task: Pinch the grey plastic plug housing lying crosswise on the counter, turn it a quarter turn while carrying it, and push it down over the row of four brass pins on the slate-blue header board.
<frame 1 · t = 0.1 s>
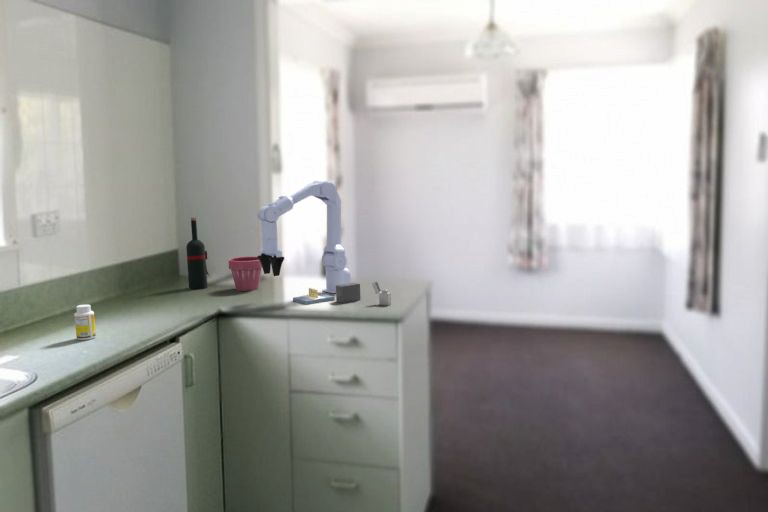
hand: (271, 274, 264), 10 cm above the countertop, tool pointing down, fingers open, 7 cm apart
plug housing: (348, 300, 261), on the countertop
supplement bottle: (86, 339, 216), on the countertop
wine bottle: (200, 287, 302), on the countertop
lighter: (381, 304, 253), on the countertop
header board: (313, 300, 264), on the countertop
plant pot: (247, 289, 294), on the countertop
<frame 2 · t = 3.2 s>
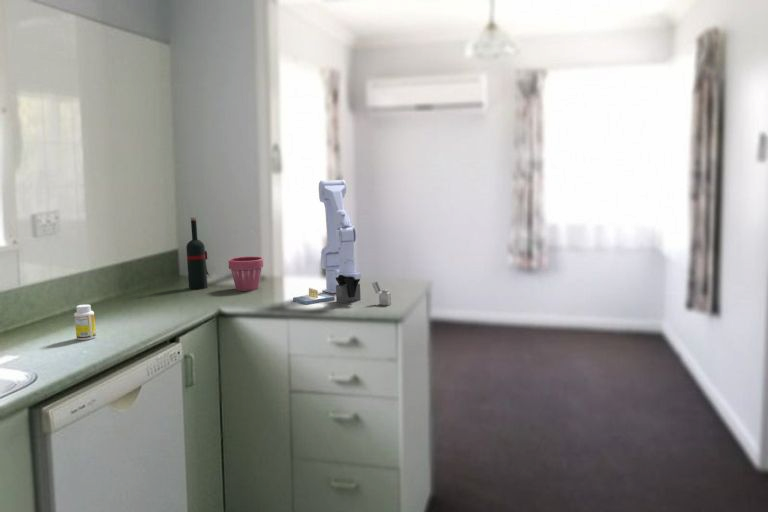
hand: (348, 296, 261), 2 cm above the countertop, tool pointing down, fingers closed on plug housing, 4 cm apart
plug housing: (348, 300, 261), on the countertop, touching gripper
everything else where it was.
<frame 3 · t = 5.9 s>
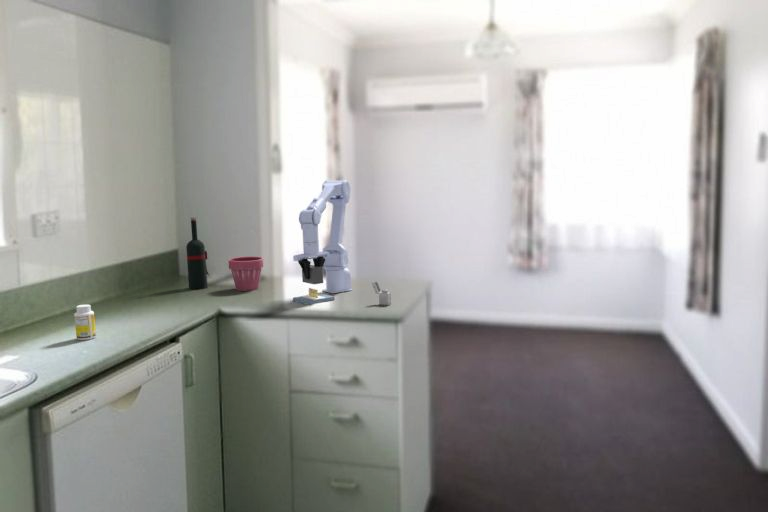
hand: (312, 278, 263), 8 cm above the countertop, tool pointing down, fingers closed on plug housing, 4 cm apart
plug housing: (312, 282, 263), point 7 cm above the countertop, touching gripper
everything else where it was.
when the fingers open (3 cm above the countertop, at t = 8.6 s): plug housing stays where it is, resting on header board.
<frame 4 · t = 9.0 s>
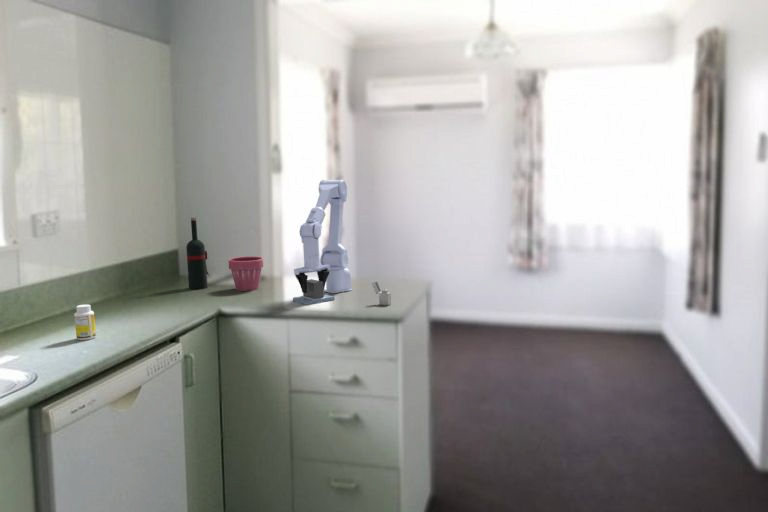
hand: (313, 291, 264), 3 cm above the countertop, tool pointing down, fingers open, 7 cm apart
plug housing: (313, 296, 264), point 1 cm above the countertop, touching header board
everything else where it was.
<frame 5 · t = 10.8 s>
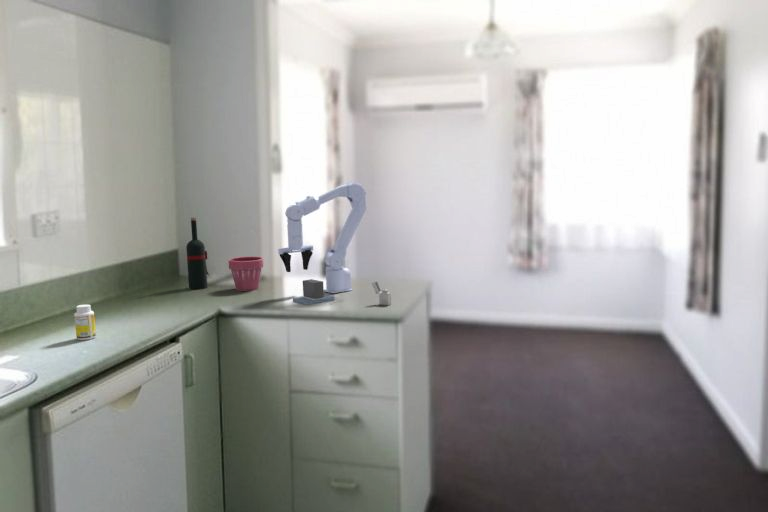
hand: (297, 270, 276), 9 cm above the countertop, tool pointing down, fingers open, 7 cm apart
nothing on the countertop moved.
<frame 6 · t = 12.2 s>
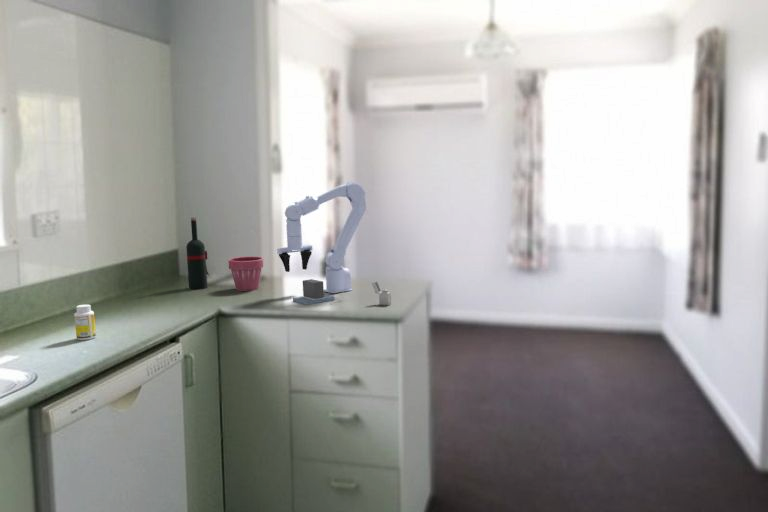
hand: (296, 270, 277), 9 cm above the countertop, tool pointing down, fingers open, 7 cm apart
nothing on the countertop moved.
at the end: plug housing 0.0 cm off-centre on the header board, point 1.3 cm above the header board's base; plug housing tilted 0°; the gripper is holding nothing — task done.
